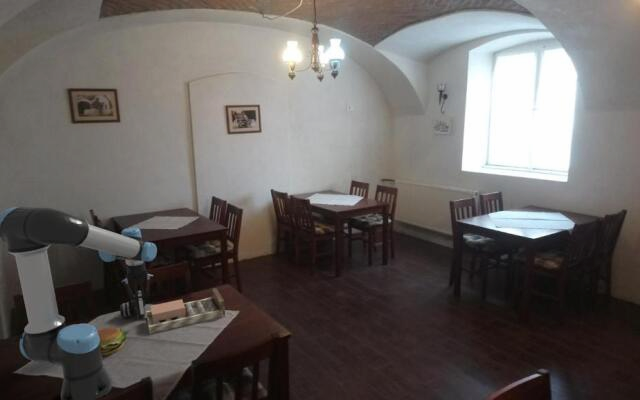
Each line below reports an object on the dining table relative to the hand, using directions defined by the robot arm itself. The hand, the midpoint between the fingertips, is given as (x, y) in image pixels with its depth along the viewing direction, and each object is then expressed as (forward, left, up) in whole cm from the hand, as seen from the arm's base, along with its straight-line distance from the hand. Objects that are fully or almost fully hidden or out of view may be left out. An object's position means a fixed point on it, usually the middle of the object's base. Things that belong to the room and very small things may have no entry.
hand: (142, 312), depth 185 cm
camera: (-4, +15, -7) cm, 17 cm away
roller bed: (+18, 0, -7) cm, 19 cm away
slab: (+11, 0, -3) cm, 11 cm away
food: (-14, -13, -7) cm, 21 cm away
